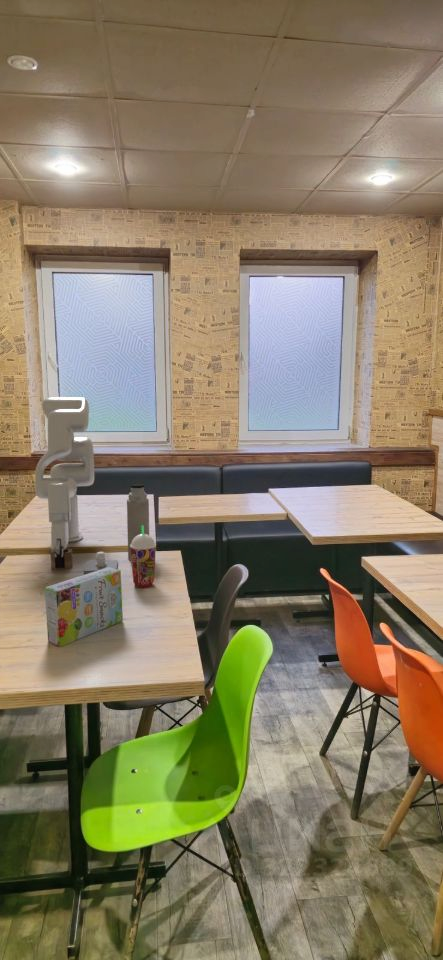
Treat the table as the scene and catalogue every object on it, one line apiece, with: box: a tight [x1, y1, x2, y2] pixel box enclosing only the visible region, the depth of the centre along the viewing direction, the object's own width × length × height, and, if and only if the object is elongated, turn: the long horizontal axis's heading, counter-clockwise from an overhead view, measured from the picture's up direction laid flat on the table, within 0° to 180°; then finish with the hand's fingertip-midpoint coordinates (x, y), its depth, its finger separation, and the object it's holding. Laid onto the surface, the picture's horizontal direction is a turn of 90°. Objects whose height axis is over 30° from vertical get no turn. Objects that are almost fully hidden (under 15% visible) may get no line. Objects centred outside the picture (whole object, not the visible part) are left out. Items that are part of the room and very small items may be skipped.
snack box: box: [44, 567, 124, 648], centre depth 161 cm, size 21×6×15 cm, turn 141°
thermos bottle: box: [126, 483, 150, 561], centre depth 223 cm, size 8×8×28 cm
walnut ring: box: [50, 547, 74, 571], centre depth 214 cm, size 7×7×6 cm
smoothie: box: [130, 526, 157, 589], centre depth 195 cm, size 8×8×20 cm
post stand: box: [83, 551, 119, 575], centre depth 212 cm, size 11×11×6 cm
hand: (62, 563), depth 215 cm, fingers open, 9 cm apart
